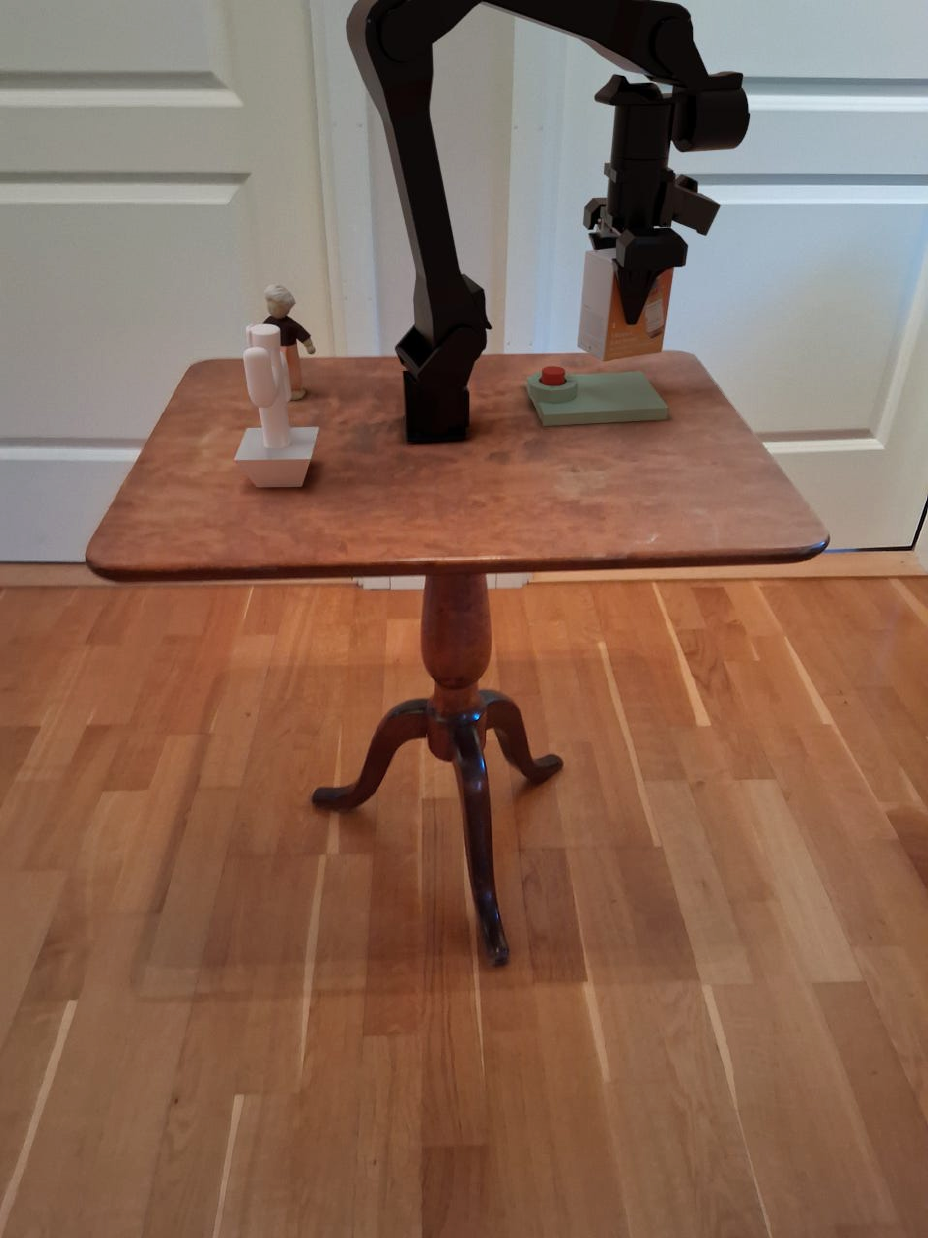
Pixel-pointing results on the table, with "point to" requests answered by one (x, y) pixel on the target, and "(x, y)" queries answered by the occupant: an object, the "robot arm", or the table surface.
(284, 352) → the grandmother figurine
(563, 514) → the table surface
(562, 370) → the button
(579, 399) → the scale
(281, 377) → the figurine
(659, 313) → the small box
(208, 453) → the table surface
